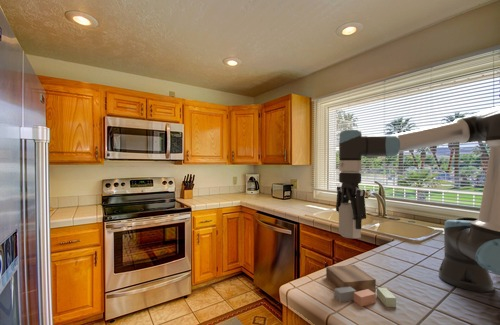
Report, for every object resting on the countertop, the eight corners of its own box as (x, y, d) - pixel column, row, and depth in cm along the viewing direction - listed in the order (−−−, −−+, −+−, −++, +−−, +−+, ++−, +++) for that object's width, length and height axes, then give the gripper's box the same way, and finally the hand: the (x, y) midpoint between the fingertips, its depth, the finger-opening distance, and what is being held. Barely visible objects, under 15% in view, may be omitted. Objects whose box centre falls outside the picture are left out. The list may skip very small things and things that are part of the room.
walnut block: (354, 274, 93) (354, 264, 93) (375, 291, 81) (375, 279, 81) (326, 277, 90) (326, 267, 90) (344, 294, 79) (344, 282, 79)
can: (354, 232, 90) (354, 201, 90) (364, 239, 82) (365, 205, 82) (335, 233, 89) (335, 201, 89) (344, 239, 82) (344, 205, 82)
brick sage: (376, 296, 78) (376, 287, 78) (386, 296, 78) (386, 287, 78) (385, 307, 72) (385, 297, 72) (396, 307, 72) (396, 298, 72)
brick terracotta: (367, 298, 77) (367, 289, 77) (375, 303, 74) (375, 293, 74) (353, 301, 75) (353, 292, 75) (361, 307, 72) (361, 297, 72)
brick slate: (349, 294, 79) (349, 285, 79) (355, 299, 76) (356, 290, 76) (334, 297, 77) (334, 288, 77) (340, 302, 74) (340, 293, 74)
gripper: (326, 171, 95) (326, 227, 95) (358, 173, 75) (358, 244, 75) (343, 171, 97) (343, 226, 96) (378, 173, 77) (378, 242, 76)
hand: (349, 234), depth 86 cm, fingers closed on can, 7 cm apart
